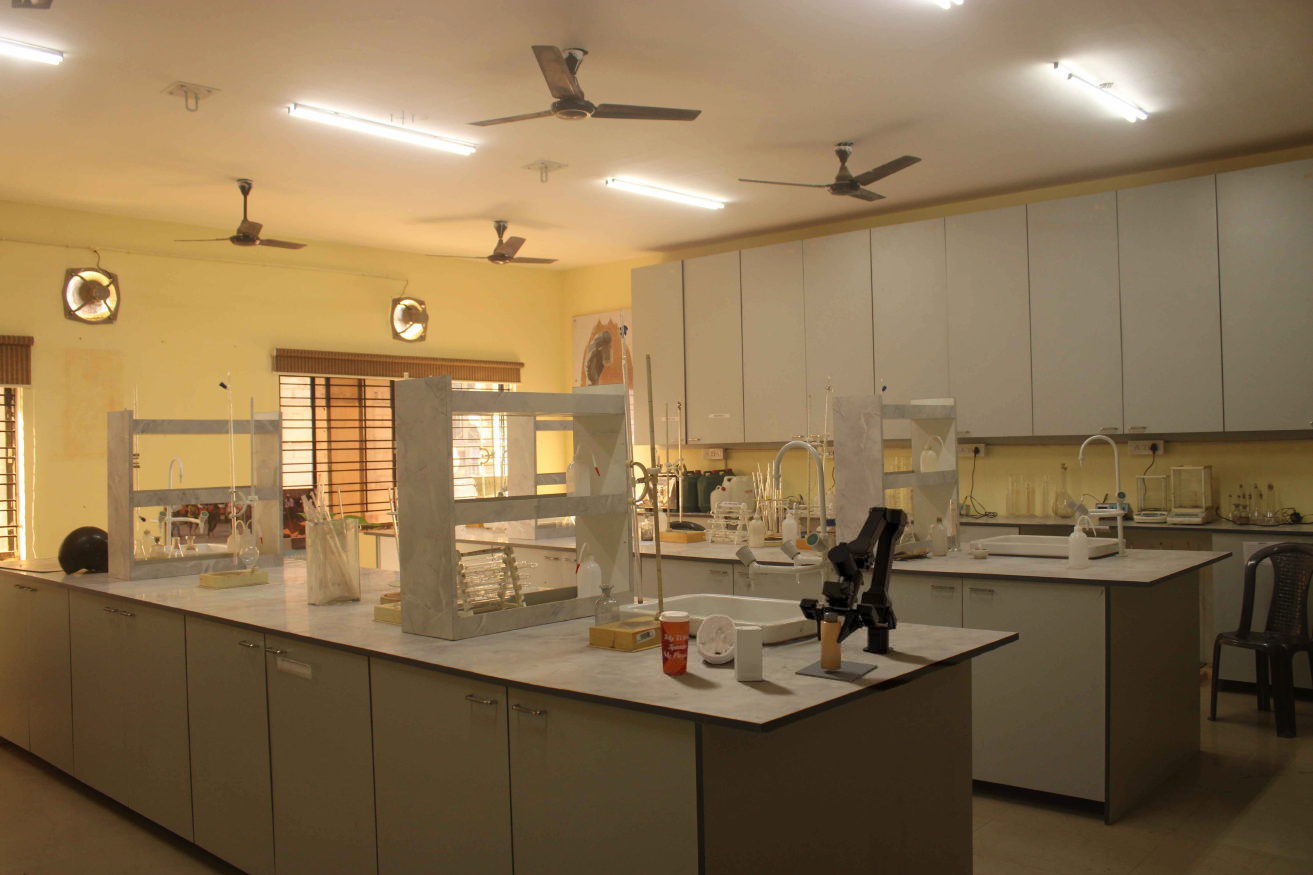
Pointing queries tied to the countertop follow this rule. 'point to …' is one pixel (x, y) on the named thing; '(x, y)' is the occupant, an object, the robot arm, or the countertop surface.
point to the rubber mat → (838, 671)
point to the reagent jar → (830, 642)
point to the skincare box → (748, 653)
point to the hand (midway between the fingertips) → (828, 640)
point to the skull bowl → (716, 639)
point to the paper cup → (674, 641)
